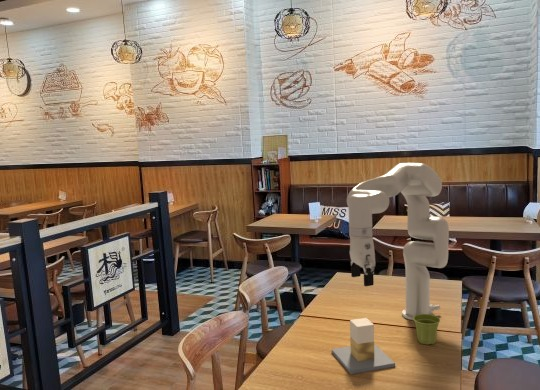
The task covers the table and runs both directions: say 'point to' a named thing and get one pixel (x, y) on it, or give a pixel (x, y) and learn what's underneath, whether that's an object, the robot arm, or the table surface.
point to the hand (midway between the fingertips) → (362, 280)
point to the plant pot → (426, 328)
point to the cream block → (362, 330)
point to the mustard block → (362, 350)
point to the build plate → (365, 365)
